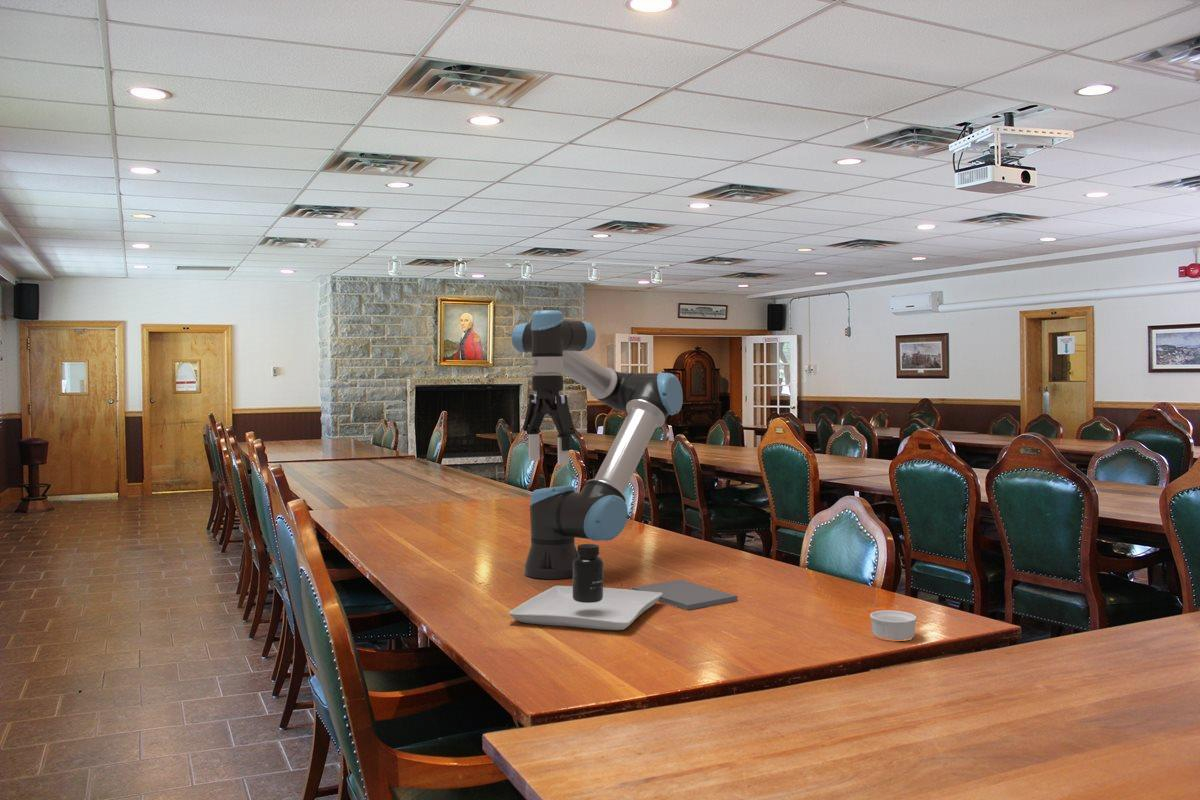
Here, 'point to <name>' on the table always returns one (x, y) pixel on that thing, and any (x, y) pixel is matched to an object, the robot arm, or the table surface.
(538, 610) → the square plate
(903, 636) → the ramekin
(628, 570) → the table surface
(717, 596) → the folder
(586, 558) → the supplement bottle
